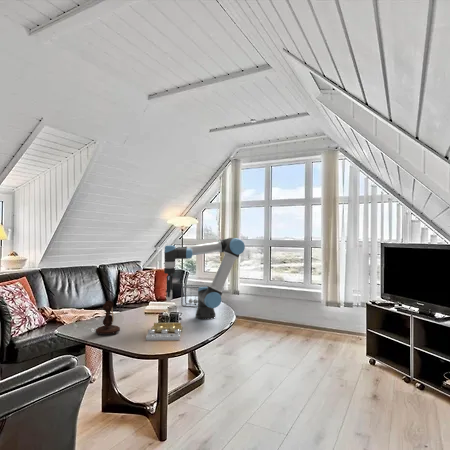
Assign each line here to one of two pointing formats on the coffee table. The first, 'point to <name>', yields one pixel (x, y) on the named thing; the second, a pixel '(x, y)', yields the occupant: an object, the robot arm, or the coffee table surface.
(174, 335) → the steel leaf
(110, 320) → the dark wooden figurine
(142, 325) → the coffee table surface
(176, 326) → the brass leaf
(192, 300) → the newton's cradle
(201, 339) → the coffee table surface
